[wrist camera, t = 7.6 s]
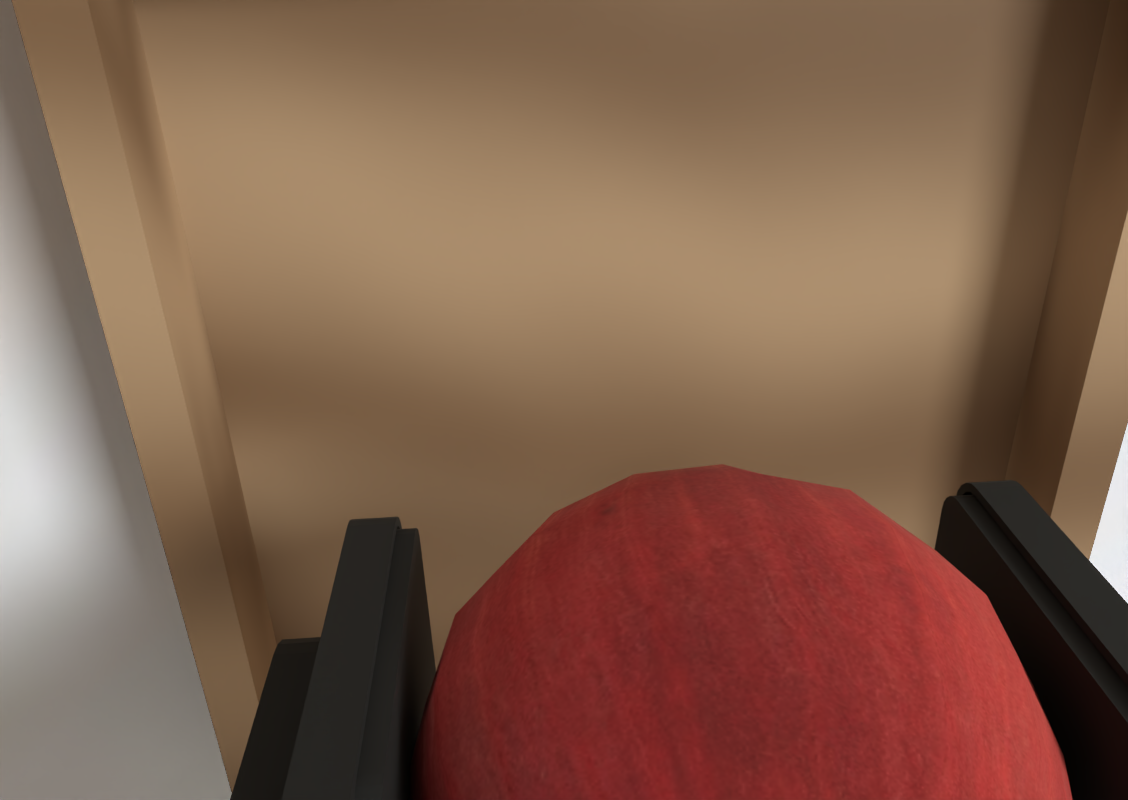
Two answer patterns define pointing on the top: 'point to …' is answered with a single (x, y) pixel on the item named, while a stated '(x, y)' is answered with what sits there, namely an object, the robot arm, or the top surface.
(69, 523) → the top surface
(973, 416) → the walnut tray
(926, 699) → the onion
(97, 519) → the top surface
